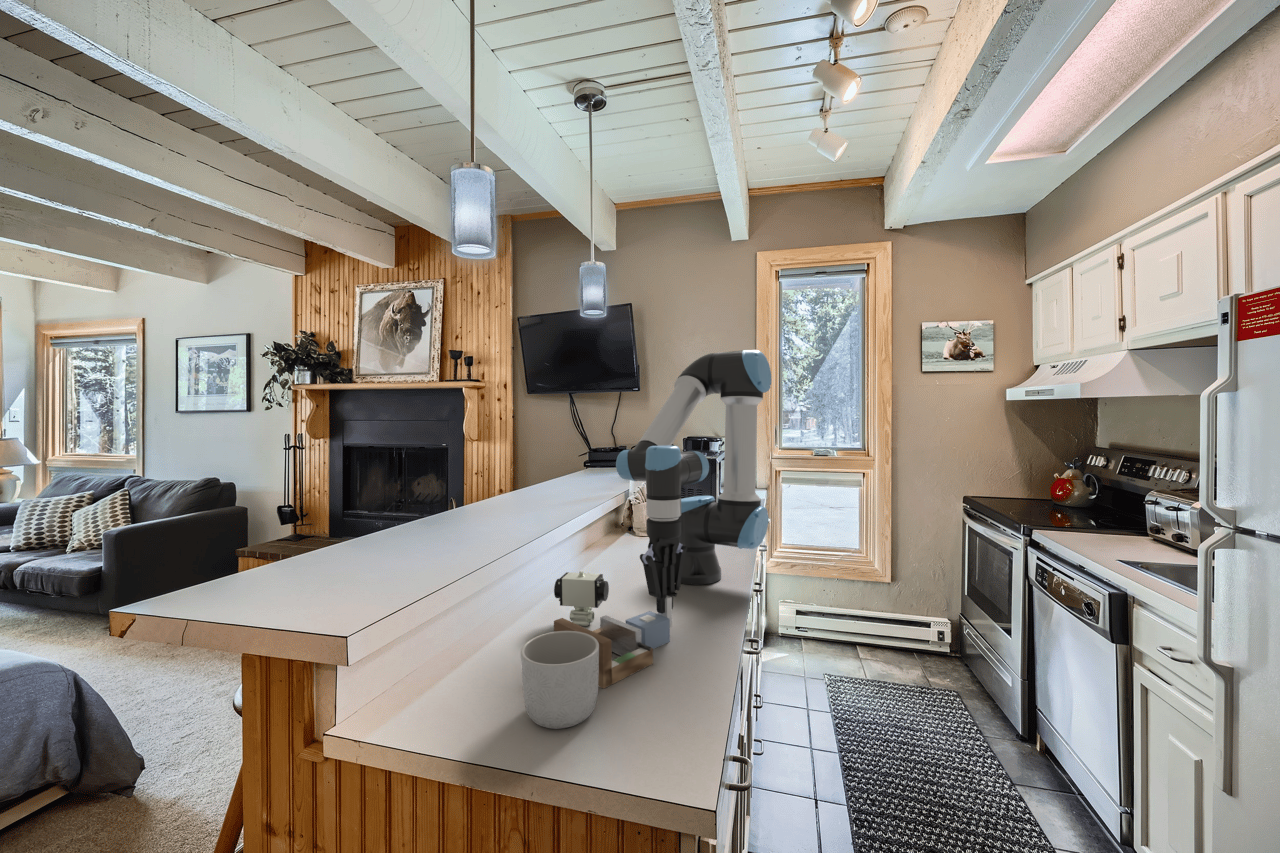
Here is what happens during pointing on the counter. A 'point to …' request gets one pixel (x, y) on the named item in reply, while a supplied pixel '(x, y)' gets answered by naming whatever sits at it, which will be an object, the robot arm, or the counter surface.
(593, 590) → the pneumatic valve
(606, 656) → the gauge frame
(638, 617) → the blue block
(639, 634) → the grey flat panel
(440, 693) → the counter surface
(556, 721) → the planter
